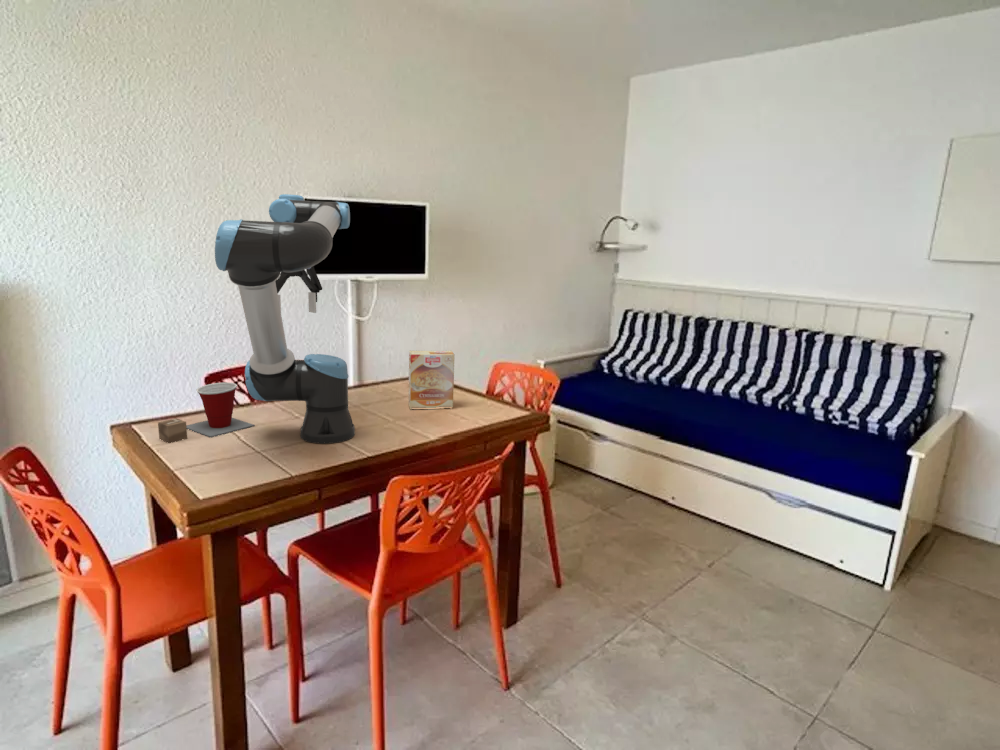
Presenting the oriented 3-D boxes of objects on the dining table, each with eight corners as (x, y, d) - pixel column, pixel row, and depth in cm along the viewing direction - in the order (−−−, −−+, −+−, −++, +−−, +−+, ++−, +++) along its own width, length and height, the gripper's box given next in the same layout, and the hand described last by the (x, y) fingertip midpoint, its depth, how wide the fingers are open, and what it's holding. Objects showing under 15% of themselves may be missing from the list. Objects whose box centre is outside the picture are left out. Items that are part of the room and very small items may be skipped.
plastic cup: (193, 424, 174) (190, 385, 172) (230, 418, 182) (228, 380, 179) (206, 433, 167) (203, 392, 164) (245, 426, 174) (243, 387, 172)
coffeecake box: (409, 410, 200) (410, 354, 195) (408, 404, 206) (408, 350, 202) (453, 409, 203) (455, 353, 199) (450, 403, 210) (451, 350, 206)
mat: (254, 426, 176) (254, 424, 176) (210, 437, 165) (210, 436, 165) (226, 417, 184) (226, 415, 184) (182, 427, 172) (182, 426, 172)
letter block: (187, 438, 163) (185, 421, 162) (169, 443, 159) (167, 425, 158) (177, 435, 166) (176, 417, 165) (159, 439, 162) (157, 421, 161)
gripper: (316, 246, 196) (318, 310, 201) (250, 244, 176) (253, 315, 180) (332, 247, 192) (333, 312, 197) (266, 245, 172) (269, 318, 176)
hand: (295, 314), depth 189 cm, fingers open, 13 cm apart
